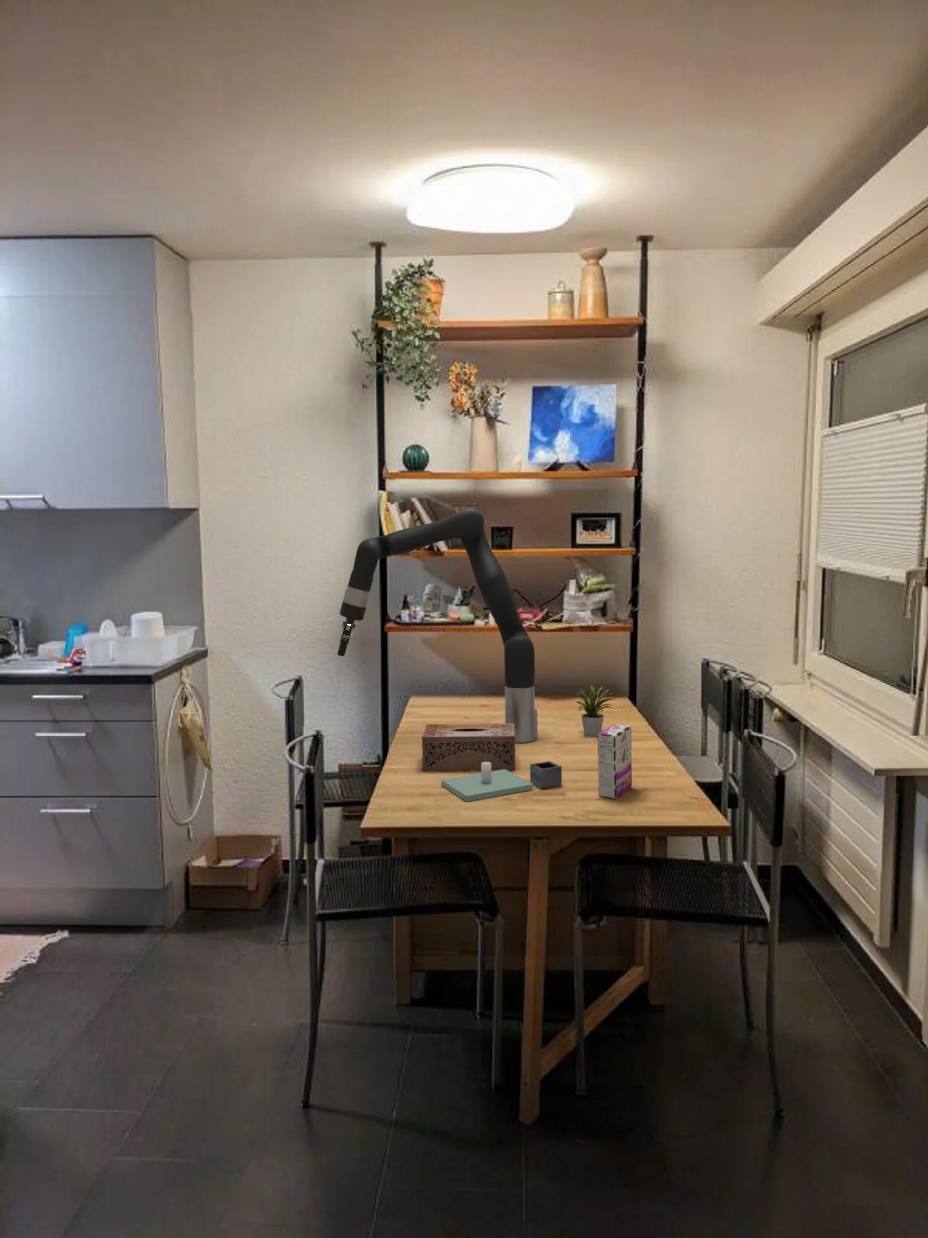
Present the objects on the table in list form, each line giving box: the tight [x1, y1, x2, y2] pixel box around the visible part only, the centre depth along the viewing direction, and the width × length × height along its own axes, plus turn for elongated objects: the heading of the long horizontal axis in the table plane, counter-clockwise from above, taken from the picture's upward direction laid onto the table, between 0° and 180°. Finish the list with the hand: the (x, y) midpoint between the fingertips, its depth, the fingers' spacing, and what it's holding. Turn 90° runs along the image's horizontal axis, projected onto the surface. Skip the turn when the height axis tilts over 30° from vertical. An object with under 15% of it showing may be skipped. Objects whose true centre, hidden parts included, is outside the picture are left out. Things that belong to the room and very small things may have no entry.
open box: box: [529, 760, 563, 789], centre depth 230 cm, size 6×6×5 cm
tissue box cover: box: [421, 722, 516, 772], centre depth 250 cm, size 26×14×10 cm, turn 88°
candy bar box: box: [597, 723, 633, 800], centre depth 222 cm, size 11×5×16 cm, turn 148°
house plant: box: [575, 683, 615, 738], centre depth 277 cm, size 14×14×16 cm
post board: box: [441, 762, 534, 802], centre depth 228 cm, size 19×15×6 cm
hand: (341, 653), depth 269 cm, fingers open, 8 cm apart
